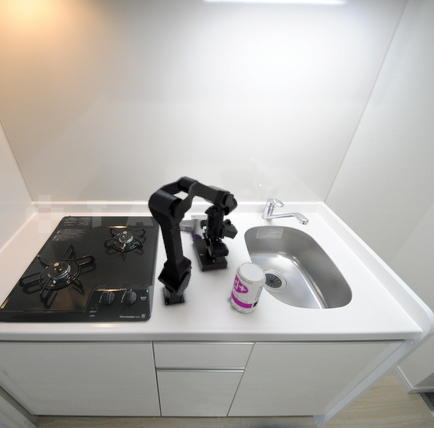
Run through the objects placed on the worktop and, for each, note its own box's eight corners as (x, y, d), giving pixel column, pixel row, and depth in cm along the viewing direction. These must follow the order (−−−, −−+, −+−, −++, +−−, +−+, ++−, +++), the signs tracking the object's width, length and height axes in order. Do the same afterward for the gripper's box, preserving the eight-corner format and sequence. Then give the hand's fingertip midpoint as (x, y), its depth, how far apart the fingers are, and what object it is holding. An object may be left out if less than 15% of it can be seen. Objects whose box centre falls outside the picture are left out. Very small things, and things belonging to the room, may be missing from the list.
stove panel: (226, 268, 80) (228, 262, 78) (201, 271, 79) (202, 265, 77) (214, 242, 92) (215, 236, 90) (192, 244, 91) (193, 239, 89)
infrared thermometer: (172, 225, 104) (202, 225, 102) (169, 241, 94) (203, 242, 92) (171, 218, 101) (203, 218, 100) (168, 233, 91) (203, 234, 90)
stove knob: (215, 251, 83) (216, 244, 81) (217, 254, 82) (218, 247, 79) (204, 253, 83) (205, 245, 80) (205, 255, 81) (206, 248, 79)
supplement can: (238, 317, 64) (247, 286, 55) (225, 294, 70) (232, 263, 62) (261, 310, 66) (273, 279, 57) (246, 288, 72) (255, 258, 64)
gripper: (247, 236, 66) (239, 269, 75) (228, 205, 82) (223, 236, 90) (213, 238, 65) (209, 272, 74) (200, 207, 80) (198, 238, 89)
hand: (210, 253), depth 82 cm, fingers closed on stove knob, 2 cm apart
